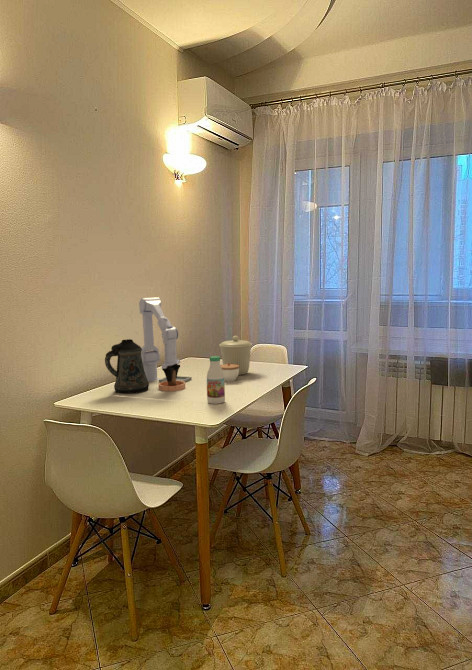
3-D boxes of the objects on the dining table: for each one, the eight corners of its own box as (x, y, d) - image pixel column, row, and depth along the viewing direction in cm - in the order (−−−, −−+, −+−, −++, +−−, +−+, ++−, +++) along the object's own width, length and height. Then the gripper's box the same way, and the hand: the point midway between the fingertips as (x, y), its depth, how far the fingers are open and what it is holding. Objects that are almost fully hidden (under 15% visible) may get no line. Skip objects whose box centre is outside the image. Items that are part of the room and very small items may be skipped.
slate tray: (159, 383, 265) (158, 379, 264) (169, 379, 275) (169, 375, 274) (181, 385, 260) (181, 381, 259) (191, 380, 270) (191, 377, 269)
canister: (247, 377, 274) (246, 338, 271) (215, 376, 280) (214, 337, 277) (256, 371, 291) (256, 334, 288) (226, 369, 297) (225, 333, 294)
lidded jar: (237, 382, 262) (236, 364, 261) (216, 382, 264) (216, 364, 263) (241, 378, 273) (240, 360, 271) (221, 378, 275) (220, 360, 274)
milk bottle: (207, 400, 229) (205, 355, 226) (224, 399, 230) (223, 354, 227) (207, 404, 221) (206, 358, 219) (225, 403, 222) (224, 357, 219)
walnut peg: (166, 385, 251) (165, 371, 250) (170, 383, 254) (169, 369, 253) (173, 386, 249) (172, 371, 248) (177, 384, 253) (177, 370, 252)
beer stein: (156, 389, 253) (153, 338, 249) (128, 398, 236) (126, 344, 233) (130, 386, 261) (128, 336, 258) (102, 394, 244) (99, 342, 241)
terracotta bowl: (153, 391, 249) (153, 385, 248) (167, 385, 260) (167, 379, 260) (177, 392, 244) (177, 387, 243) (189, 387, 255) (189, 381, 255)
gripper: (170, 355, 242) (171, 384, 243) (185, 350, 255) (186, 377, 257) (157, 355, 244) (158, 383, 246) (172, 350, 258) (173, 377, 259)
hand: (171, 380), depth 251 cm, fingers closed on walnut peg, 4 cm apart
